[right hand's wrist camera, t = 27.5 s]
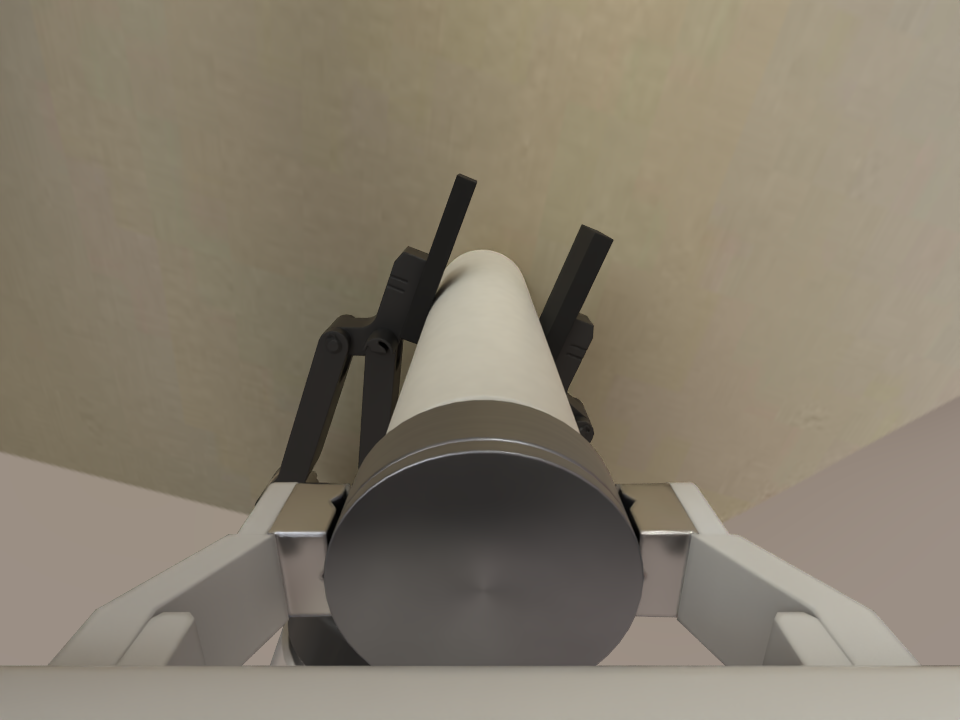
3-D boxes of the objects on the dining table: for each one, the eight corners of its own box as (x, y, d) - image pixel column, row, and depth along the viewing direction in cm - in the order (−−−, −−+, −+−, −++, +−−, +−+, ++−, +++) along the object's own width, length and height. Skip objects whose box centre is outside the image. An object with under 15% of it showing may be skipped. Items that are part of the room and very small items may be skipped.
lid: (651, 425, 10) (689, 483, 8) (577, 636, 11) (594, 721, 10) (366, 373, 9) (340, 422, 8) (337, 599, 11) (309, 680, 9)
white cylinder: (499, 232, 27) (540, 389, 8) (541, 310, 28) (655, 591, 10) (421, 277, 27) (300, 510, 9) (466, 350, 29) (438, 679, 11)
